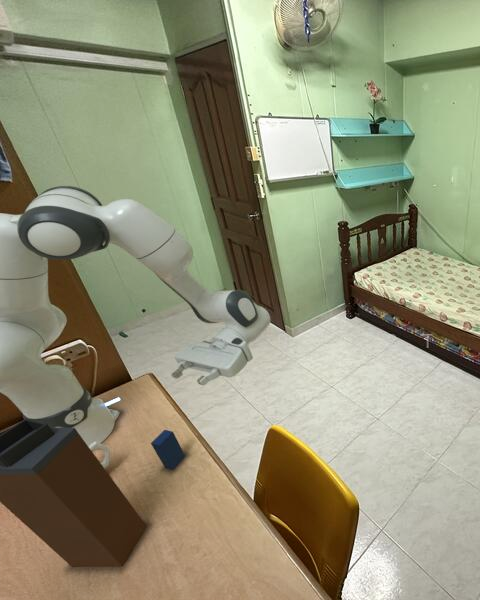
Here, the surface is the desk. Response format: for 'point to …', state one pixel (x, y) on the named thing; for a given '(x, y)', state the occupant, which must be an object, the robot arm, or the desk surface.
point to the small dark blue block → (168, 449)
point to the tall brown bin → (66, 495)
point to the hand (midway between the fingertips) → (186, 379)
